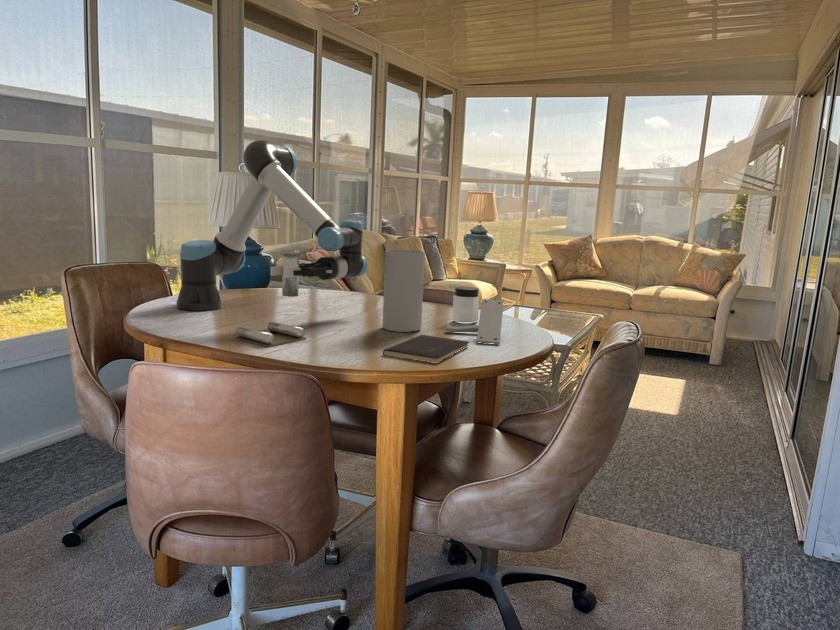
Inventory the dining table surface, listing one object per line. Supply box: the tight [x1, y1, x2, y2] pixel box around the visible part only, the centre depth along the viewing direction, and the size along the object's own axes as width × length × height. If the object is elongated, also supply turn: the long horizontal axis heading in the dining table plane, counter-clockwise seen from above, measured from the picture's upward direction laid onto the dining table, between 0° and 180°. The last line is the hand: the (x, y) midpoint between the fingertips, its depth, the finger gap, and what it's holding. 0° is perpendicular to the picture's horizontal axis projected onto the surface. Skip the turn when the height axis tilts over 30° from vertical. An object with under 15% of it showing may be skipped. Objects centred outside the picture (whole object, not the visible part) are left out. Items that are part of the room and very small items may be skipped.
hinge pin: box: [280, 248, 302, 297], centre depth 196 cm, size 6×6×14 cm
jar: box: [451, 286, 480, 322], centre depth 220 cm, size 9×8×12 cm
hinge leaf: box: [234, 321, 307, 348], centre depth 181 cm, size 14×14×3 cm
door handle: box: [444, 298, 505, 345], centre depth 197 cm, size 18×8×20 cm
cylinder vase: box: [382, 249, 426, 333], centre depth 202 cm, size 12×12×25 cm
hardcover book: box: [382, 334, 470, 362], centre depth 176 cm, size 16×23×2 cm
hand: (277, 272), depth 192 cm, fingers closed on hinge pin, 5 cm apart
